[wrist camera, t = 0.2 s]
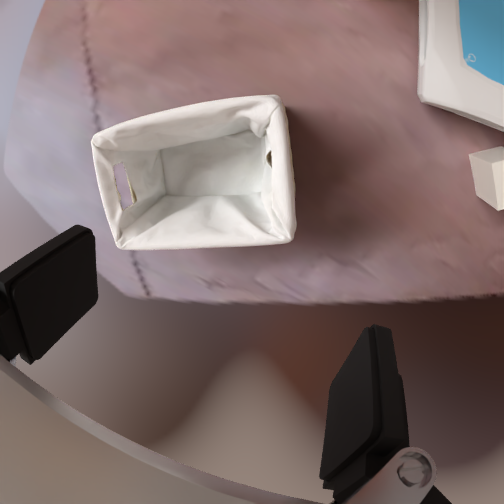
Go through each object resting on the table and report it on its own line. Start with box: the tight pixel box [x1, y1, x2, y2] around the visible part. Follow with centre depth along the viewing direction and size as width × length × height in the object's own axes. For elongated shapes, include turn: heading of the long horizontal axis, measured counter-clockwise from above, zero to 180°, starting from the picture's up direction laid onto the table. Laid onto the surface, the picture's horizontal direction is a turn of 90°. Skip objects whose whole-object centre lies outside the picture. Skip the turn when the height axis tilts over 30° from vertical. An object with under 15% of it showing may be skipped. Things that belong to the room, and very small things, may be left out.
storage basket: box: [91, 95, 297, 250], centre depth 39 cm, size 24×16×15 cm
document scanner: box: [417, 0, 504, 132], centre depth 23 cm, size 21×28×6 cm
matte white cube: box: [469, 146, 504, 211], centre depth 32 cm, size 6×6×8 cm
